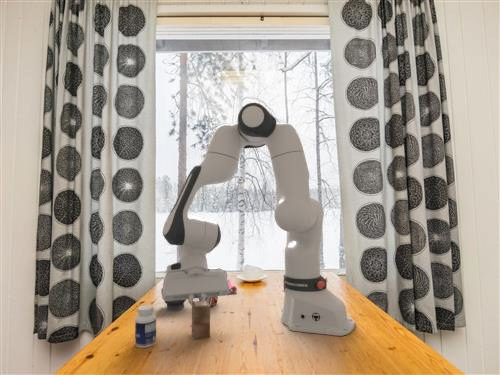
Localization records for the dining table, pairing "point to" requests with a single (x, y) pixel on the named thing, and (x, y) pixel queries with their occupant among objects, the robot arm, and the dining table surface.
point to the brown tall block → (200, 320)
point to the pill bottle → (145, 327)
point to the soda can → (211, 300)
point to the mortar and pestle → (174, 304)
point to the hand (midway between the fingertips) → (198, 310)
